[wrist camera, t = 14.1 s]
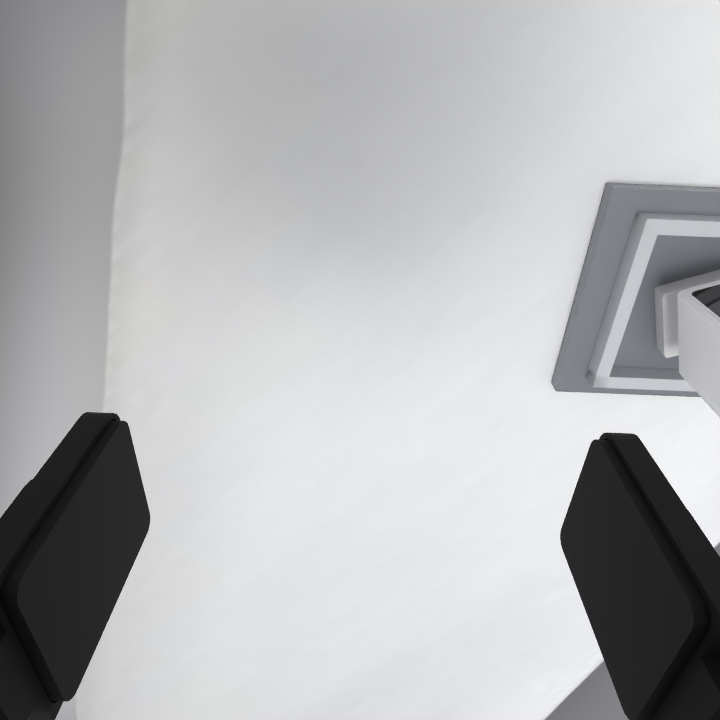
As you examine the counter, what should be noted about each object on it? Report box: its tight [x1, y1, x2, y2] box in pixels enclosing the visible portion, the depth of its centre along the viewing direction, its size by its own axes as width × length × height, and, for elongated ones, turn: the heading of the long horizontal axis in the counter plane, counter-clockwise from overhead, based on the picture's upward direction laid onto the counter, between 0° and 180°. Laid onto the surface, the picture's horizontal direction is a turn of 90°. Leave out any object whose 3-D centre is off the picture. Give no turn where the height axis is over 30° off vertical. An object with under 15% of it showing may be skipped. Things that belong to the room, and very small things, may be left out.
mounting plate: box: [552, 183, 720, 397], centre depth 38 cm, size 16×16×3 cm
